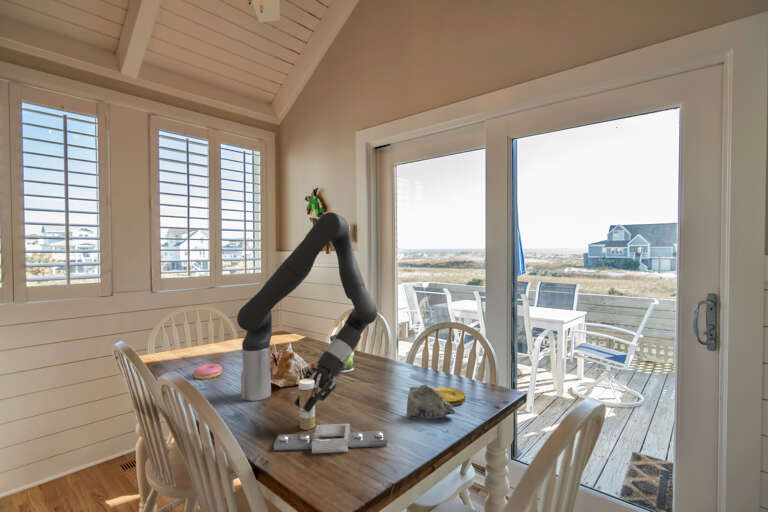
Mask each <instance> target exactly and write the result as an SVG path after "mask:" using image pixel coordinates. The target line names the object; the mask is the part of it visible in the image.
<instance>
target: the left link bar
mask: <svg viewBox="0 0 768 512" xmlns="http://www.w3.org/2000/svg"><path fill="white" fill-rule="evenodd" d="M314 433H315V432H314ZM314 433H294V434H293V433H292V434H291V433H290V434H278V435H277V438H276V440H275V441H274V443H273V452H274V451H276V450H278V451H298V450H312V439H313V436H314Z"/></svg>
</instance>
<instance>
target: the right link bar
mask: <svg viewBox="0 0 768 512" xmlns="http://www.w3.org/2000/svg"><path fill="white" fill-rule="evenodd" d="M348 447H351V448H369V447H370V448H372V447H388V437H387V430H370V431H369V430H368V431H367V430H365V431H350V432H349V439H348Z"/></svg>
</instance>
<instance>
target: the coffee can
mask: <svg viewBox="0 0 768 512" xmlns="http://www.w3.org/2000/svg"><path fill="white" fill-rule="evenodd" d="M336 336H337V334H334V335H333V334H332V335H330V337H329V340H330V341H329V344H330V343H331V342H332V341H333V340H334V338H335V337H336ZM354 350H355V349H354ZM354 350H353V352H352V354H351V356H350V358H349V359H348V361H347V362H346V364H345V365H344V367H343V369H342V370H341V372H340V373H341V374H342V373H348V372H352V371H354V369H355V351H354ZM340 373H339V374H340Z"/></svg>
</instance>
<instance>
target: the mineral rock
mask: <svg viewBox="0 0 768 512" xmlns="http://www.w3.org/2000/svg"><path fill="white" fill-rule="evenodd" d="M434 389H435V388H432V387H431V386H428V385H427V384H422V385H420V386H410V388H409V392H408V395H407V402H406V403H407V404H406V417H407V419H419V420H423V419H426V420H427V419H428V420H429V419H430V420H431V419H440V418H443V417H446V416H449V415H451V416H452V415H454V414H456V410H455V409H454V405H451V404H449V403H447V402H446V401H444V399H443V397H442V396H441V394H440V393H439V392H438V391H436V390H434Z"/></svg>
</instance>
